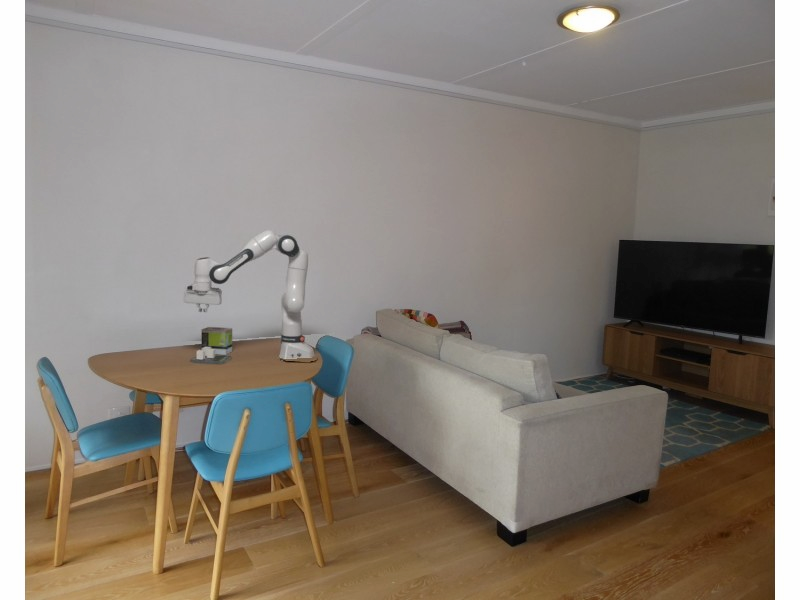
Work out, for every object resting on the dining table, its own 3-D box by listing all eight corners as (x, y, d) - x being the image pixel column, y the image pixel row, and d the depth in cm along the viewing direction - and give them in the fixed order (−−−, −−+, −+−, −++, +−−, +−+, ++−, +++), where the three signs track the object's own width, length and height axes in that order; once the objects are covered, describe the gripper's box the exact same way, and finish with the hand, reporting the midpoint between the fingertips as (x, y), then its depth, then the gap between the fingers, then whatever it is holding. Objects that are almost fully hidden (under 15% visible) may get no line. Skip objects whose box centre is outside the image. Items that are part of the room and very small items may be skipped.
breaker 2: (211, 354, 312) (211, 347, 312) (209, 355, 309) (209, 348, 309) (205, 354, 313) (205, 346, 312) (203, 355, 310) (203, 347, 309)
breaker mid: (215, 357, 308) (215, 349, 307) (213, 358, 305) (213, 350, 304) (209, 356, 308) (209, 348, 307) (206, 357, 305) (207, 349, 304)
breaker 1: (205, 358, 304) (205, 350, 303) (202, 359, 301) (202, 351, 300) (198, 357, 304) (198, 349, 303) (196, 359, 301) (196, 351, 300)
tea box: (232, 352, 330) (233, 327, 328) (225, 355, 320) (226, 330, 318) (208, 350, 331) (208, 325, 330) (200, 353, 321) (201, 328, 320)
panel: (231, 358, 313) (231, 356, 313) (222, 364, 299) (222, 361, 299) (200, 356, 314) (200, 354, 314) (189, 362, 300) (189, 359, 300)
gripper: (223, 287, 304) (223, 312, 306) (187, 285, 305) (187, 310, 307) (219, 288, 298) (219, 313, 300) (182, 286, 299) (182, 311, 301)
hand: (202, 311), depth 304 cm, fingers closed
